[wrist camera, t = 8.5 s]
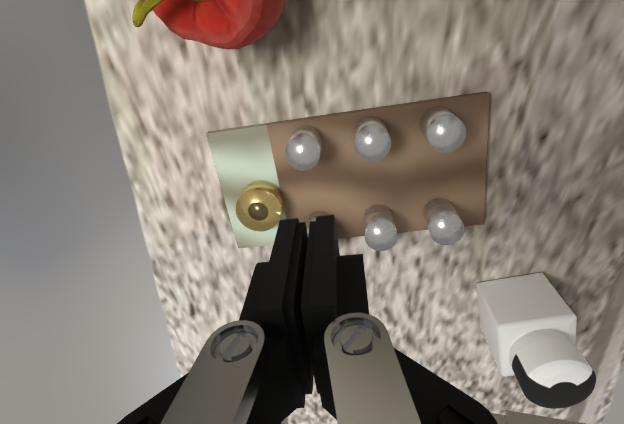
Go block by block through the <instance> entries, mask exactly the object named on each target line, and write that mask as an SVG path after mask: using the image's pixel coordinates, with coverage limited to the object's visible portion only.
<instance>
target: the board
mask: <svg viewBox="0 0 624 424" xmlns="http://www.w3.org/2000/svg"><path fill="white" fill-rule="evenodd" d="M489 96H490V93H488V92H481V93H474V94H467V95H460V96H453V97H446V98H439V99H432V100H425V101H418V102H411V103H404V104H397V105H390V106H383V107H376V108H369V109H362V110H355V111H348V112H341V113H334V114H327V115H320V116H314V117H307V118H300V119H293V120H286V121H279V122H272V123H265V124H258V125H251V126H244V127H237V128H230V129H223V130H216V131H209V132H207V133H206V136H207V139H208V143H209V146H210V150H211V153H212V157H213V160H214V164H215V167H216V171H217V174H218V178H219V181H220V185H221V188H222V192H223V195H224V199H225V203H226V206H227V210H228V213H229V217H230V220H231V224H232V227H233V231H234V234H235V238H236V241H237V245H238V248H246V247H256V246H266V245H274V241H275V237H276V233H277V229H278V225H279V222H278V224H277V225H276V226H275V227H274V228H272V229H270V230H267V231H254V230H251V229H249V228H247V227H245V226H244V225H243V224H242V223H241V222H240V221H239V219H238V217H237V215H236V210H235V208H236V203H237V201H238V199H239V197H240V195H241V194H242V192H243V190H244V189H245V187H246V186H247V185H248V184H250V183H252V182H254V181H259V180H264V181H269V182H271V183H273V184H275V185H276V186H277V187H278V188H279V189H280V190H281V191H282V193H283V195H284V199H285V204H284V208H283V212H282V215H281V218H280V220H283V219H293V218H298V219H299V222H305V224H306V221H307V218H308V216H309V215H310V214H311V213H313V212H316V211H325V212H327V213H329V214H330V215H334V216H335V223H336V231H337V238H347V237H357V236H365V230H364V219H363V217H364V213H365V211H366V210H367V209H368V208H369V207H371V206H373V205H377V204H380V205H385V206H387V207H388V208H389V209H390V210H391V212H392V214H393V218H394V222H395V226H396V230H397V233H398V232H408V231H418V230H428V226H427V224H426V221H425V219H424V216H423V209H424V206H425V205H426V204H427V203H428V202H429V201H430V200H432V199H435V198H445V199H447V200H449V201H450V202H451V203H452V205H453V207H454V209H455V210H456V212H457V214H458V215H459V217H460V219H461V221H462V222H463V224H464V226H469V225H479V224H484V212H485V189H486V166H487V143H488V119H489ZM437 106H441V107H445V108H447V109H448V110H450V111H451V112H452V113H453V114H454V115H455V116H456V117H457V118H459V119H460V120H461V121H462V122H463V123H464V125H465V127H466V138H465V140H464V142H463V144H462V145H461V146H460V147H459V148H458V149H456V150H454V151H452V152H449V153H441V152H438V151H436V150H434V149H433V148H432V147H431V145H430V144H429V142H428V141H427V140H426V138H425V137H424V135H423V134H422V132H421V130H420V120H421V117H422V116H423V114H424V113H425V112H426V111H427V110H429V109H430V108H433V107H437ZM367 116H375V117H378V118H380V119H381V120H382V121H383V122H384V124H385V126H386V128H387V131H388V134H389V136H390V139H391V148H390V151H389V153H388V154H387V156H386V157H384V158H383V159H382V160H379V161H376V162H368V161H365V160H363V159H362V158H360V157H359V156H358V154H357V152H356V150H355V141H354V128H355V126H356V124H357V122H358V121H359V120H360V119H362V118H364V117H367ZM303 125H310V126H313V127H315V128H316V129H317V130H318V131H319V132H320V134H321V136H322V147H321V153H320V158H319V161H318V163H317V164H316V165H315V166H314V167H313V168H311V169H309V170H304V171H303V170H297V169H295V168H293V167H292V166H291V165H290V164H289V163H288V162H287V160H286V157H285V150H286V147H287V144H288V142H289V140H290V138H291V135H292V133H293V132H294V130H295V129H296V128H298V127H300V126H303ZM280 220H279V221H280Z"/></svg>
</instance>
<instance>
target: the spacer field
mask: <svg viewBox="0 0 624 424" xmlns="http://www.w3.org/2000/svg"><path fill="white" fill-rule="evenodd" d="M420 130H421V132H422V134H423V135H424V137H425V138H426V140H427V141H428V142H429V144H430V145H431V147H432V148H433V149H434V150H436V151H438V152H441V153H449V152H452V151H454V150H456V149H458V148H459V147H460V146H461V145H462V144H463V142H464V140H465V138H466V127H465V125H464V123H463V122H462V121H461V120H460V119H459V118H457V117H456V116H455V115H454V114H453V113H452V112H451V111H450V110H448V109H447V108H445V107H441V106H437V107H433V108H430V109H429V110H427V111H426V112H425V113H424V114H423V116H422V117H421V120H420ZM354 141H355V150H356V152H357V154H358V156H359V157H360V158H362V159H363V160H365V161H368V162H376V161H379V160H382V159H383V158H384V157H386V156H387V154H388V153H389V151H390V148H391V139H390V136H389V134H388V131H387V128H386V126H385V124H384V122H383V121H382V120H381V119H380V118H378V117H375V116H367V117H364V118H362V119H360V120H359V121H358V122H357V124H356V126H355V128H354ZM321 147H322V136H321V134H320V132H319V131H318V130H317V129H316V128H315V127H313V126H310V125H303V126H300V127H298V128H296V129H295V130H294V132H293V133H292V135H291V138H290V140H289V142H288V144H287V147H286V150H285V157H286V160H287V162H288V163H289V164H290V165H291V166H292V167H293V168H295V169H297V170H303V171H304V170H309V169H311V168H313V167H314V166H315V165H316V164H317V163H318V161H319V158H320V153H321ZM324 215H330V214H329V213H327V212H325V211H316V212H313V213H311V214H310V215H309V216H308V218H307V221H306V228H307V234H309V225H310V221H316V216H324ZM423 216H424V219H425V221H426V224H427V226H428V229H429V231H430V234H431V236H432V238H433V240H434V241H435V242H437V243H439V244H442V245H450V244H453V243H455V242H457V241H458V240H460V239H461V237H462V236H463V234H464V230H465V228H464V224H463V222H462V221H461V219H460V217H459V215H458V214H457V212H456V210H455V209H454V207H453V205H452V203H451V202H450V201H449V200H447V199H445V198H435V199H432V200H430V201H429V202H428V203H427V204H426V205H425V206H424V209H423ZM363 219H364V230H365V240H366V243H367V244H368V246H369V247H370V248H372V249H374V250H377V251H385V250H388V249H390V248H392V247H393V246H394V245H395V244H396V242H397V239H398V235H397V230H396V226H395V222H394V218H393V214H392V212H391V210H390V209H389V208H388V207H387V206H385V205H380V204H377V205H373V206H371V207H369V208H368V209H367V210H366V211H365V213H364V217H363Z"/></svg>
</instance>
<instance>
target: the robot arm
mask: <svg viewBox="0 0 624 424" xmlns="http://www.w3.org/2000/svg"><path fill="white" fill-rule="evenodd" d="M313 375H314V378H315V383H316V388H317V392H318V394H320V396H321V401H322V406H323V408H324V409H326V410H327V411H328V412H329V413H330V414H331V415H332V416H333V417H334V418H335V419H336V420H337V422H338V424H585V423H579V422H573V421H567V420H561V419H555V418H549V417H543V416H537V415H531V414H526V413H520V412H514V411H508V410H506V415H500V414H494V413H490V411H489V410H488V409H486V408H485V407H484V406H483V405H482V404H480V403H479V402H478V401H476V400H475V399H473V398H471V397H470V396H468V395H467V394H465V393H464V392H462V391H461V390H459V389H457V388H456V387H454V386H453V385H451V384H450V383H448V382H446V381H445V380H443V379H442V378H440V377H439V376H437V375H436V374H434V373H432V372H431V371H429V370H428V369H426V368H425V367H423V366H421V365H420V364H418V363H417V362H415V361H414V360H412V359H411V358H409V357H407V356H406V355H404V354H403V353H401V352H400V351H398V350H396V349H395V348H393V345H392V342H391V340H390V337H389V334H388V331H387V329H386V327H385V326H384V324H383V323H382V322H381V321H380V320H379V319H377V318H376V317H374V316H371V315H369V309H368V299H367V290H366V281H365V272H364V263H363V254H356V255H344V256H340V254H339V247H338V239H337V231H336V223H335V216H334V215H324V216H316V221H310V225H309V234H307V228H306V224H305V222H299V219H298V218H293V219H283V220H280V221H279V225H278V229H277V233H276V237H275V241H274V245H273V249H272V253H271V257H270V261H269V262H261V263H257V264H256V266H255V269H254V272H253V276H252V279H251V282H250V286H249V289H248V292H247V296H246V299H245V302H244V306H243V309H242V312H241V316H240V319H239V321H234V322H231V323H227V324H225V325H224V326H222V327H220V328H218V329H217V330H216V331H215V332H213V333H212V334H211V336H210V337H209V338H208V340H207V341H206V343H205V345H204V346H203V348H202V350H201V352H200V353H199V355H198V357H197V359H196V361H195V362H194V364H193V366H192V368H191V370H190V371H189V373H187V374H186V375H184V376H183V377H181V378H180V379H179V380H177V381H176V382H175V383H173V384H171V385H170V386H169V387H167V388H166V389H164V390H163V391H161V392H160V393H158V394H157V395H156V396H154V397H153V398H151V399H150V400H148V401H147V402H146V403H144V404H143V405H141V406H140V407H138V408H137V409H136V410H134V411H133V412H131V413H130V414H128V415H127V416H126V417H124V418H123V419H122V420H121V421H120V422H119V423H117V424H288V420H287V417H288V416H289V415H290V414H291V413H292V412H293V411H294V410H295V409H297V408H304V406H305V394H312V391H313Z"/></svg>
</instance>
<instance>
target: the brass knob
mask: <svg viewBox="0 0 624 424" xmlns="http://www.w3.org/2000/svg"><path fill="white" fill-rule="evenodd" d="M284 204H285V199H284V195H283V193H282V191H281V190H280V189H279V188H278V187H277V186H276V185H275V184H273V183H271V182H269V181H264V180H259V181H254V182H252V183H250V184H248V185H247V186H246V187H245V189H244V190H243V192H242V194H241V195H240V197H239V199H238V201H237V203H236V208H235V210H236V215H237V217H238V219H239V221H240V222H241V223H242V224H243V225H244V226H245V227H247V228H249V229H251V230H254V231H267V230H270V229H272V228H274V227H275V226H276V225H277V224H278V222H279V220H280V218H281V215H282V212H283V208H284Z"/></svg>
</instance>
